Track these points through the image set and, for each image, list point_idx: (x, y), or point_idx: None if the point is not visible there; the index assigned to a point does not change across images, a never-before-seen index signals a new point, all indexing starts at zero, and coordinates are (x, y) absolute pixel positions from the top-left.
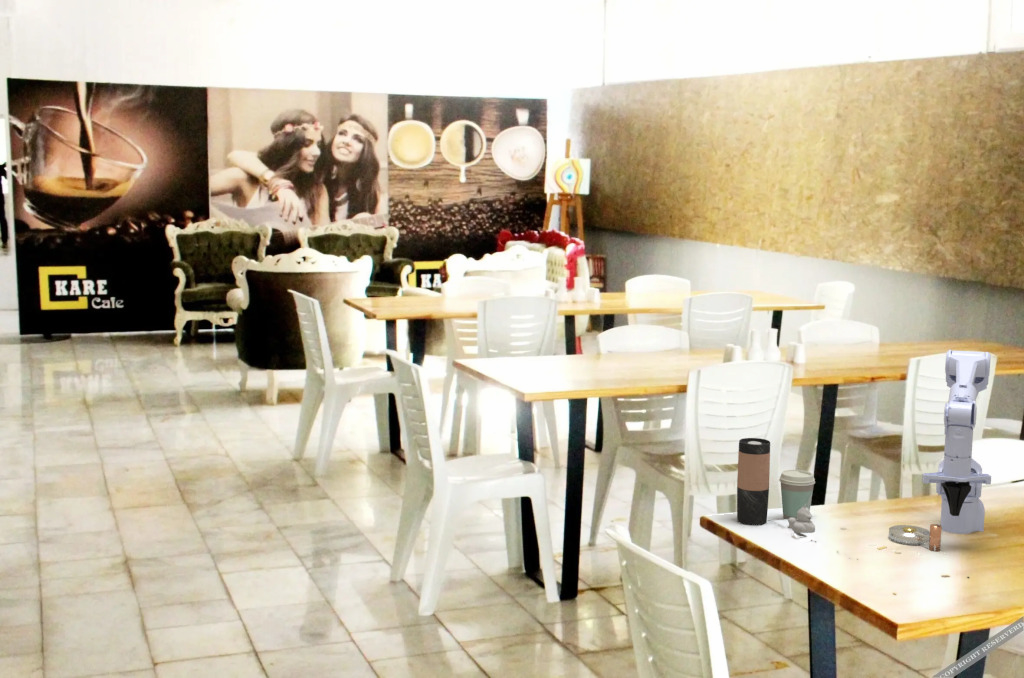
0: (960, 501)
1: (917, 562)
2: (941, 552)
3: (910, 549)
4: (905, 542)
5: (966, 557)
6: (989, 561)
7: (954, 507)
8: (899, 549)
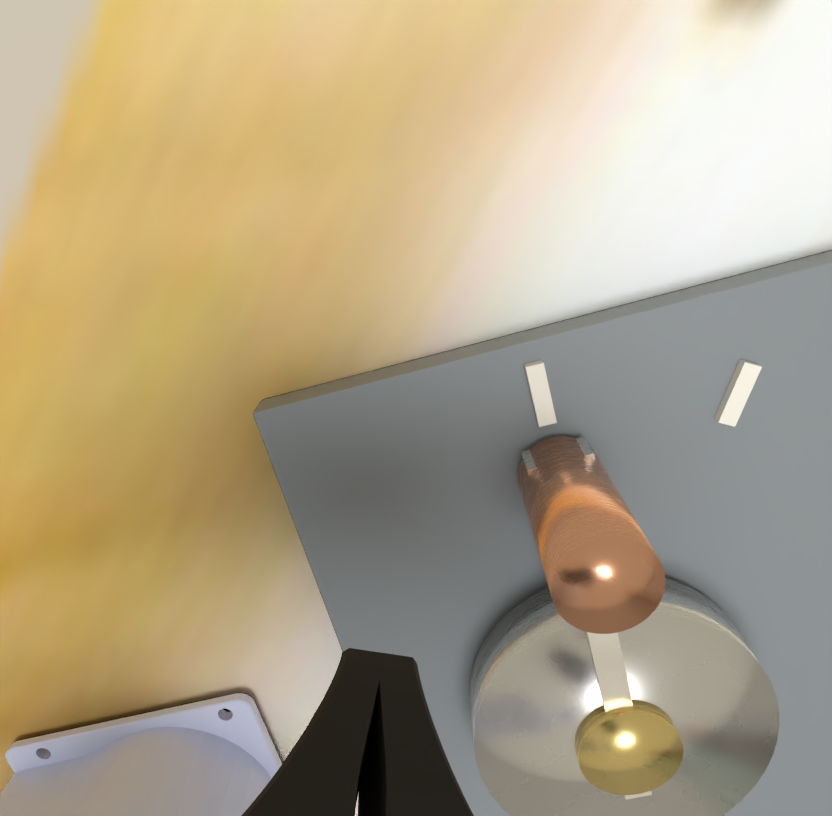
0: (327, 786)
1: None
2: (546, 403)
3: None
4: (713, 608)
5: None
6: (199, 293)
7: (414, 725)
8: None
